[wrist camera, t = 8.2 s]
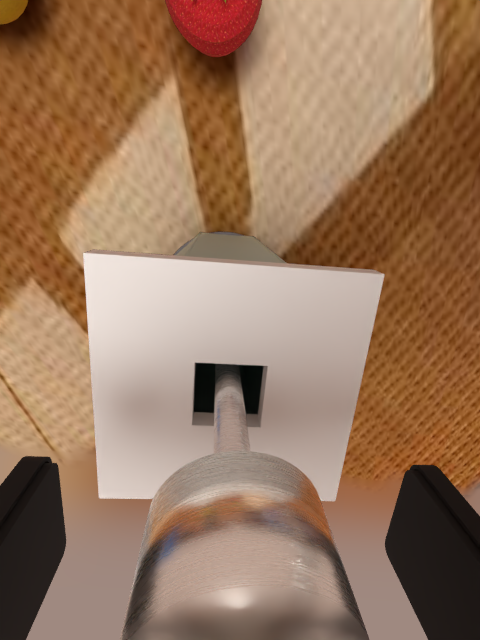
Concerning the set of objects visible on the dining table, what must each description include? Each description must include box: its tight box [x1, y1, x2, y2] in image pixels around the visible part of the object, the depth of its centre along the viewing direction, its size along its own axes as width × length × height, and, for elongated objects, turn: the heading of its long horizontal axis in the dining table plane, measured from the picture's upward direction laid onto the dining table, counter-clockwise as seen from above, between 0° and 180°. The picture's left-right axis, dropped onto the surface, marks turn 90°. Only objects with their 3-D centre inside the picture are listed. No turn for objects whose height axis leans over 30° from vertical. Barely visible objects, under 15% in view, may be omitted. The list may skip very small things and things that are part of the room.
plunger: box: [120, 363, 369, 640], centre depth 17 cm, size 8×8×24 cm
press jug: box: [83, 232, 385, 501], centre depth 23 cm, size 14×11×17 cm
